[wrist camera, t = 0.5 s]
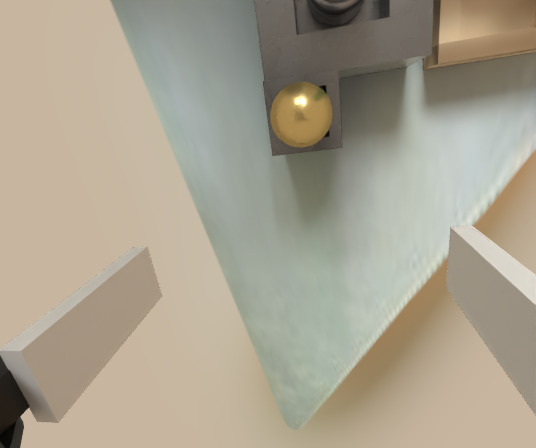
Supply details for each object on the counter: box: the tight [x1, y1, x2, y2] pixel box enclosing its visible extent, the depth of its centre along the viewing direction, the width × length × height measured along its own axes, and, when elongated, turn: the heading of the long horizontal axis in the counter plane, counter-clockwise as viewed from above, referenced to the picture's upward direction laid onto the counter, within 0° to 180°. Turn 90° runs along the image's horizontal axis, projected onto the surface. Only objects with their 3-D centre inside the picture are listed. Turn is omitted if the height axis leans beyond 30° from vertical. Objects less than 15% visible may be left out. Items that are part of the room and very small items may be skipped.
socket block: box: [254, 0, 433, 156], centre depth 26 cm, size 19×13×8 cm
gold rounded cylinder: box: [270, 82, 332, 147], centre depth 25 cm, size 4×4×7 cm
